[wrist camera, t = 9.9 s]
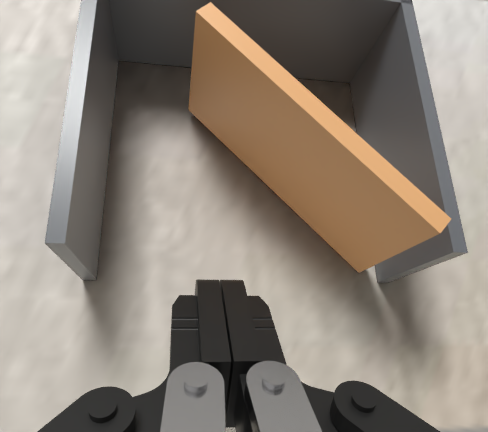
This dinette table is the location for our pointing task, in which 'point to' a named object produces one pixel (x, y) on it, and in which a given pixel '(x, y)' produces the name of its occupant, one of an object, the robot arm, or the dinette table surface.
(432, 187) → the open u-shaped enclosure
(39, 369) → the dinette table surface
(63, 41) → the dinette table surface
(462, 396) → the dinette table surface
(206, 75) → the side door
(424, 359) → the dinette table surface
